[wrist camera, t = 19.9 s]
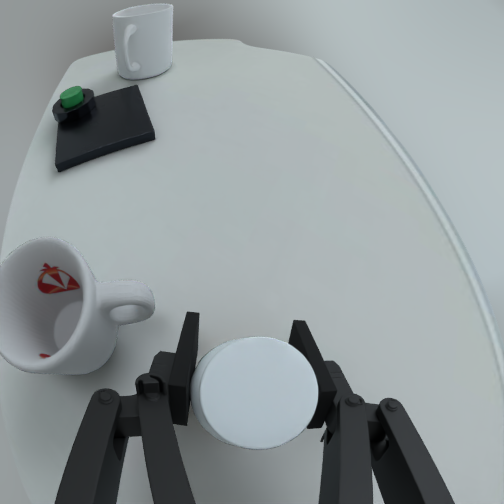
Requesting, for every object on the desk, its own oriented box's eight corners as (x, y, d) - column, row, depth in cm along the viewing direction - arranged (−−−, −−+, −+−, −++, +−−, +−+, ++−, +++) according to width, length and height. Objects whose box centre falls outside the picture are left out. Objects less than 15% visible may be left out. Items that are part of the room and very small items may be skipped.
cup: (155, 271, 22) (135, 211, 15) (176, 370, 19) (156, 354, 12) (42, 295, 19) (-10, 249, 12) (50, 388, 16) (-14, 374, 9)
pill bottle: (235, 340, 20) (256, 293, 12) (292, 390, 19) (357, 381, 10) (179, 392, 18) (153, 390, 9) (239, 446, 16) (266, 487, 8)
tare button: (61, 111, 27) (58, 101, 26) (63, 101, 28) (60, 91, 27) (83, 103, 28) (81, 93, 27) (84, 93, 29) (81, 83, 28)
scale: (54, 174, 25) (45, 155, 23) (59, 114, 31) (54, 98, 28) (155, 139, 29) (153, 118, 27) (137, 88, 35) (135, 72, 32)
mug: (172, 56, 41) (173, 1, 31) (171, 83, 36) (171, 15, 26) (122, 63, 39) (118, 8, 29) (111, 92, 34) (102, 25, 24)
